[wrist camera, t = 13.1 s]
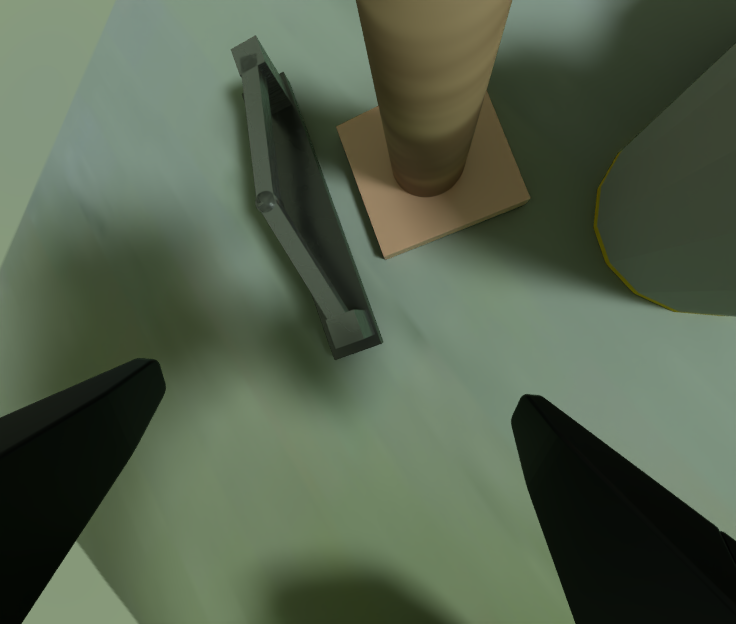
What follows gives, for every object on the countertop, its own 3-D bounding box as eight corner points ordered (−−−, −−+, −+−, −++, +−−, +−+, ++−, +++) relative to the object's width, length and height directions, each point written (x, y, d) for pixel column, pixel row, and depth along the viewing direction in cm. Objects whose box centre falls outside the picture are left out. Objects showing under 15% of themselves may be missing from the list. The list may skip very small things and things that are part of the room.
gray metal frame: (383, 342, 20) (372, 350, 16) (336, 358, 21) (312, 371, 16) (289, 82, 21) (254, 22, 17) (247, 105, 22) (202, 52, 17)
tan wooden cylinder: (480, 169, 18) (619, -178, 5) (415, 211, 19) (399, -7, 6) (440, 109, 18) (480, -347, 6) (378, 153, 19) (289, -170, 6)
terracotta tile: (524, 204, 19) (530, 198, 18) (385, 259, 20) (384, 257, 19) (471, 71, 19) (474, 58, 18) (340, 135, 21) (335, 126, 20)
